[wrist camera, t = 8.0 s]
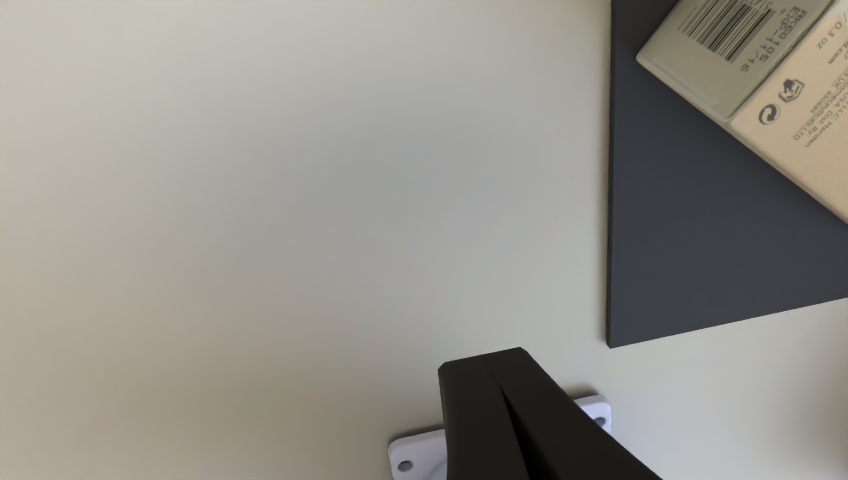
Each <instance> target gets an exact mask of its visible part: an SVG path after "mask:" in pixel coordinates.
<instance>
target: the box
mask: <svg viewBox="0 0 848 480" xmlns="http://www.w3.org/2000/svg"><path fill="white" fill-rule="evenodd" d="M636 60H637V62H638V63H640V64H641V65H642V66H643V67H644V68H645V69H647V70H648V71H649V72H651V73H652V74H653V75H655V76H656V77H657V78H658V79H660V80H661V81H662V82H663V83H665V84H666V85H667V86H669V87H670V88H671V89H672V90H674V91H675V92H676V93H678V94H679V95H680V96H682V97H683V98H684V99H685V100H687V101H688V102H689V103H691V104H692V105H693V106H695V107H696V108H697V109H699V110H700V111H701V112H703V113H704V114H705V115H706V116H708V117H709V118H710V119H712V120H713V121H714V122H716V123H717V124H718V125H719V126H721V127H722V128H723V129H725V130H726V131H727V132H728V133H730V134H731V135H732V136H734V137H735V138H736V139H737V140H739V141H740V142H741V143H742V144H744V145H745V146H746V147H748V148H749V149H750V150H752V151H753V152H754V153H755V154H757V155H758V156H759V157H761V158H762V159H763V160H765V161H766V162H767V163H769V164H770V165H771V166H773V167H774V168H775V169H776V170H778V171H779V172H780V173H782V174H783V175H784V176H786V177H787V178H788V179H790V180H791V181H792V182H794V183H795V184H796V185H797V186H799V187H800V188H801V189H803V190H804V191H805V192H807V193H808V194H809V195H810V196H812V197H813V198H814V199H816V200H817V201H818V202H819V203H821V204H822V205H823V206H825V207H826V208H827V209H828V210H830V211H831V212H832V213H834V214H835V215H836V216H837V217H839V218H840V219H841V220H843V221H844V222H845V223H847V224H848V0H680V1H679V2H678V3H677V5H676V6H675V7H674V8H673V10H672V11H671V12H670V13H669V15H668V16H667V17H666V18H665V20H664V21H663V22H662V24H661V25H660V26H659V27H658V29H657V30H656V31H655V32H654V33H653V35H652V36H651V37H650V39H649V40H648V41H647V43H646V44H645V45H644V46H643V48H642V49H641V50H640V51H639V53H638V54H637V56H636Z"/></svg>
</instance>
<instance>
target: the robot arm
mask: <svg viewBox="0 0 848 480" xmlns="http://www.w3.org/2000/svg"><path fill="white" fill-rule="evenodd" d="M438 377H439V385H440V394H441V403H442V412H443V421H444V429H440V430H436V431H431V432H427V433H422V434H418V435H413V436H409V437H404V438H400V439H397V440H395V441H394V442H392V443H391V444H390V446H389V447H388V454H389V460H390V465H391V470H392V475H393V480H663V479H662V478H660V477H659V476H658V475H657V474H655V473H654V472H653V471H652V470H650V469H649V468H648V467H647V466H646V465H644V464H643V463H642V462H641V461H639V460H638V459H637V458H636V457H635V456H633V455H632V454H631V453H630V452H629V451H628V450H626V449H625V448H624V447H623V446H622V445H621V444H620V443H618V442H617V441H616V440H615V439H614V438H613V437H612V436H611V405H610V403H609V401H608V400H607V398H606V397H605V396H602V395H593V396H589V397H584V398H580V399H575V400H572V399H571V398H570V397H569V396H568V395H567V394H566V393H565V392H564V391H563V390H562V389H561V388H560V387H559V386H558V385H557V383H556V382H555V381H554V380H553V379H552V378H551V377H550V376H549V375H548V374H547V373H546V372H545V371H544V370H543V369H542V368H541V366H540V365H539V364H538V363H537V362H536V361H535V360H534V359H533V358H532V357H531V355H530V354H529V353H528V352H527V351H526V350H524V349H523V348H521V347H517V348H512V349H507V350H502V351H498V352H493V353H488V354H483V355H478V356H473V357H468V358H463V359H458V360H454V361H449V362H444V363H443V364H442V365H441V366H440V368H439V369H438ZM598 417H599V418H598ZM595 418H598V419H596V420H594V419H595ZM403 461H408V462H406V463H401V462H403Z"/></svg>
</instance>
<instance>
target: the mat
mask: <svg viewBox="0 0 848 480" xmlns="http://www.w3.org/2000/svg"><path fill="white" fill-rule="evenodd" d="M679 1H680V0H612V47H611V107H610V168H609V228H608V289H607V345H608V347H609V348H610V349H611V348H616V347H620V346H625V345H629V344H634V343H639V342H643V341H648V340H653V339H657V338H662V337H666V336H671V335H676V334H680V333H685V332H690V331H694V330H699V329H704V328H708V327H713V326H717V325H722V324H727V323H731V322H736V321H741V320H745V319H750V318H754V317H759V316H764V315H768V314H773V313H778V312H782V311H787V310H791V309H796V308H801V307H805V306H810V305H815V304H819V303H824V302H828V301H833V300H838V299H842V298H847V297H848V224H847V223H845V222H844V221H843V220H841V219H840V218H839V217H837V216H836V215H835V214H834V213H832V212H831V211H830V210H828V209H827V208H826V207H825V206H823V205H822V204H821V203H819V202H818V201H817V200H816V199H814V198H813V197H812V196H810V195H809V194H808V193H807V192H805V191H804V190H803V189H801V188H800V187H799V186H797V185H796V184H795V183H794V182H792V181H791V180H790V179H788V178H787V177H786V176H784V175H783V174H782V173H780V172H779V171H778V170H776V169H775V168H774V167H773V166H771V165H770V164H769V163H767V162H766V161H765V160H763V159H762V158H761V157H759V156H758V155H757V154H755V153H754V152H753V151H752V150H750V149H749V148H748V147H746V146H745V145H744V144H742V143H741V142H740V141H739V140H737V139H736V138H735V137H734V136H732V135H731V134H730V133H728V132H727V131H726V130H725V129H723V128H722V127H721V126H719V125H718V124H717V123H716V122H714V121H713V120H712V119H710V118H709V117H708V116H706V115H705V114H704V113H703V112H701V111H700V110H699V109H697V108H696V107H695V106H693V105H692V104H691V103H689V102H688V101H687V100H685V99H684V98H683V97H682V96H680V95H679V94H678V93H676V92H675V91H674V90H672V89H671V88H670V87H669V86H667V85H666V84H665V83H663V82H662V81H661V80H660V79H658V78H657V77H656V76H655V75H653V74H652V73H651V72H649V71H648V70H647V69H645V68H644V67H643V66H642V65H641V64H640V63H638V62H637V60H636V56H637V54H638V53H639V51H640V50H641V49H642V48H643V46H644V45H645V44H646V43H647V41H648V40H649V39H650V37H651V36H652V35H653V33H654V32H655V31H656V30H657V29H658V27H659V26H660V25H661V24H662V22H663V21H664V20H665V18H666V17H667V16H668V15H669V13H670V12H671V11H672V10H673V8H674V7H675V6H676V5H677V3H678V2H679Z"/></svg>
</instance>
